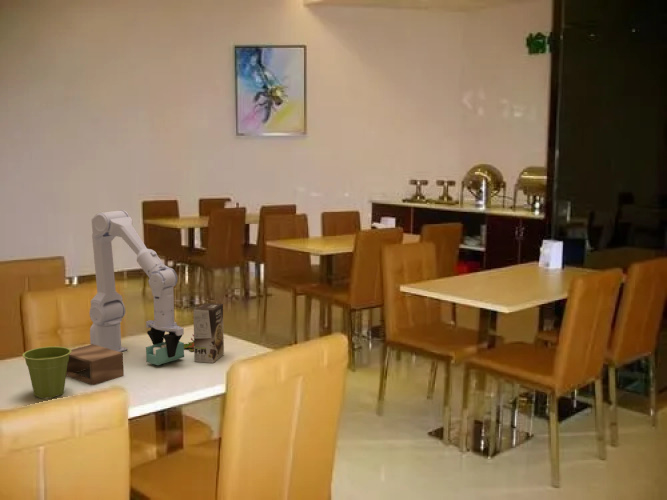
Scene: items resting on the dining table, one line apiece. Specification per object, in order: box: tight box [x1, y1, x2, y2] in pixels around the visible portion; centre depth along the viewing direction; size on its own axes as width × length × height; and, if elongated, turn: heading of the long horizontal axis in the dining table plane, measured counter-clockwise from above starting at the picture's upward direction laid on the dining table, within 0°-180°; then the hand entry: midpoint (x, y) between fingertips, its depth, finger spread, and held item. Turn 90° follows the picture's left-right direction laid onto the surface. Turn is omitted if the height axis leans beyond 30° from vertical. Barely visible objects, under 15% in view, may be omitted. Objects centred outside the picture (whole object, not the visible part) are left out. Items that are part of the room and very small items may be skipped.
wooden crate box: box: [66, 343, 125, 386], centre depth 207 cm, size 14×10×7 cm
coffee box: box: [193, 302, 225, 364], centre depth 222 cm, size 9×6×16 cm
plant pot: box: [22, 346, 72, 399], centre depth 191 cm, size 12×12×11 cm
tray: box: [145, 340, 185, 366], centre depth 218 cm, size 5×10×4 cm, turn 143°
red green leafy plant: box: [184, 333, 194, 352], centre depth 235 cm, size 12×12×5 cm
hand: (165, 354), depth 219 cm, fingers closed on tray, 5 cm apart
